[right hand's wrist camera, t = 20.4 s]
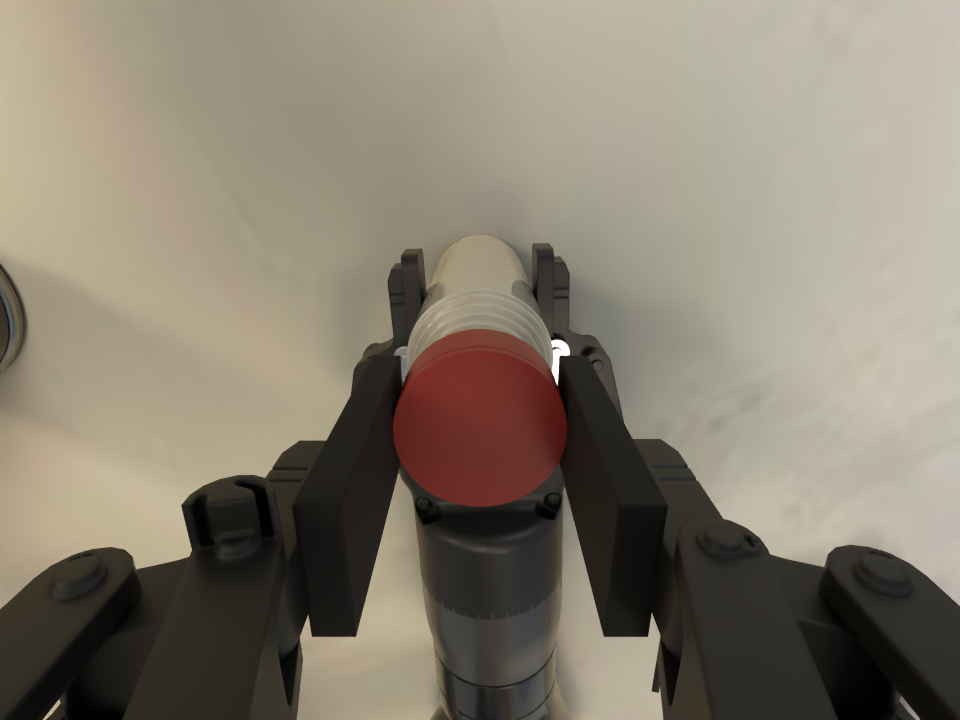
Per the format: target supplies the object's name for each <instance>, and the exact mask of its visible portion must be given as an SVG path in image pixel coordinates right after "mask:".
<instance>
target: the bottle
mask: <svg viewBox="0 0 960 720" xmlns="http://www.w3.org/2000/svg"><path fill="white" fill-rule="evenodd" d="M470 329H490V330H496V331H501V332H505V333H508V334H511V335H513V336H515V337H517V338H519V339H521V340H523V341H525V342H526V343H528V344H529V345H531V346H532V347H533V348H534V349H535V350H536V351H538V352H539V354H540V355H541V356H542V357H543V358H544V359H545V361H546V362H547V364H548V365H549V367H550V368H551V371H552V368H553V356H554V355H553V346H552V342H551V338H550V335H549V333H548V330H547V327H546V325H545V322H544V320H543V317H542V315H541V312H540V310H539V307H538V304H537V302H536V299H535V297H534V294H533V292H532V289H531V286H530V284H529V281H528V279H527V276H526V274H525V271H524V269H523V266H522V263H521V261H520V259H519V257H518V255H517V254H516V252H515V251H514V250H513V249H512V248H511V247H510V246H509V245H508V244H507V243H505V242H504V241H502V240H500V239H498V238H496V237H493V236H489V235H471V236H467V237H464V238H462V239H460V240H458V241H456V242H455V243H453V244H452V245H451V246H450V247H449V248H448V249H447V250H446V251H445V252H444V254H443V255H442V257H441V259H440V261H439V263H438V266H437V268H436V271H435V274H434V276H433V279H432V281H431V284H430V286H429V289H428V292H427V294H426V297H425V299H424V302H423V304H422V307H421V310H420V312H419V315H418V317H417V320H416V322H415V325H414V328H413V330H412V333H411V335H410V338H409V342H408V347H407V367H408V371H409V369H410V367H411V365H412V364H413V362H414V361H415V360H416V358H417V357H418V356H419V355H420V354H421V353H422V352H423V351H424V350H425V349H426V348H427V347H428V346H430V345H431V344H432V343H434V342H436V341H437V340H439V339H441V338H443V337H445V336H447V335H449V334H453V333H456V332H459V331H464V330H470Z"/></svg>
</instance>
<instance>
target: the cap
mask: <svg viewBox="0 0 960 720" xmlns="http://www.w3.org/2000/svg"><path fill="white" fill-rule="evenodd" d="M567 424H568V421H567V414H566V410H565V407H564V404H563V401H562V398H561V395H560V392H559V389H558V386H557V383H556V380H555V377H554V375H553V373H552V371H551V368H550V367H549V365H548V364H547V362H546V361H545V359H544V358H543V357H542V356H541V355H540V354H539V352H538V351H536V350H535V349H534V348H533V347H532V346H531V345H529V344H528V343H526V342H525V341H523V340H521V339H519V338H517V337H515V336H513V335H511V334H508V333H505V332H501V331H496V330H490V329H470V330H464V331H459V332H456V333H453V334H449V335H447V336H445V337H443V338H441V339H439V340H437V341H436V342H434V343H432V344H431V345H430V346H428V347H427V348H426V349H425V350H424V351H423V352H422V353H421V354H420V355H419V356H418V357H417V358H416V360H415V361H414V362H413V364H412V365H411V367H410V369H409V371H408V373H407V375H406V378H405V381H404V384H403V387H402V390H401V393H400V396H399V399H398V402H397V405H396V408H395V411H394V416H393V421H392V425H393V441H394V446H395V449H396V453H397V455H398V457H399V459H400V462H401V463H402V465H403V467H404V468H405V470H406V471H407V472H408V474H409V475H410V476H411V477H412V478H413V479H414V480H415V481H416V482H417V483H418V484H419V485H420V486H421V487H423V488H424V489H425V490H427V491H428V492H430V493H432V494H433V495H435V496H437V497H439V498H441V499H444V500H446V501H449V502H452V503H456V504H460V505H466V506H478V507H481V506H494V505H500V504H504V503H508V502H511V501H514V500H516V499H519V498H521V497H523V496H525V495H527V494H529V493H530V492H532V491H533V490H535V489H536V488H538V487H539V486H540V485H541V484H542V483H543V482H545V481H546V480H547V479H548V477H549V476H550V475H551V474H552V473H553V471H554V470H555V468H556V467H557V465H558V464H559V462H560V460H561V458H562V455H563V453H564V450H565V447H566V439H567Z"/></svg>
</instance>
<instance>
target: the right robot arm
mask: <svg viewBox="0 0 960 720" xmlns="http://www.w3.org/2000/svg"><path fill="white" fill-rule="evenodd" d="M558 389H559V392H560V395H561V398H562V401H563V404H564V407H565V410H566V414H567V421H568V424H567V439H566V447H565V450H564V453H563V455H562V458H561V460H560V462H559V464H560V468H561V472H562V476H563V480H564V484H565V487H566V491H567V495H568V499H569V503H570V507H571V511H572V515H573V518H574V522H575V526H576V530H577V534H578V538H579V542H580V545H581V549H582V553H583V557H584V561H585V565H586V569H587V573H588V576H589V580H590V584H591V588H592V592H593V596H594V600H595V604H596V607H597V611H598V615H599V619H600V623H601V627H602V631H603V635H604V637H648V632H649V626H650V619H651V613H652V614H653V616H654V619H655V622H656V624H657V627H658V630H659V632H660V635H661V637H660V643H659V649H658V655H657V661H656V667H655V673H654V679H653V686H652V692H658V693H659V688H660V690H661V700H662V709H663V719H664V720H916V719H915V718H914V717H913V716H912V715H911V714H910V713H909V712H908V711H907V709H906V708H905V707H904V706H903V704H902V703H901V702H900V699H901V697H903V698H904V700H905V701H906V702H907V703H908V705H909V706H910V707H911V708H912V710H913V711H914V712H915V713H916V715H917V716H918V717H919V718H920V720H960V606H959V605H958V604H957V603H956V602H954V601H953V600H952V599H951V598H950V597H949V596H948V595H947V594H946V593H945V592H944V591H942V590H941V589H940V588H939V587H938V586H937V585H936V584H935V583H934V582H933V581H932V580H930V579H929V578H928V577H927V576H926V575H925V574H923V573H922V572H920V571H919V570H918V569H916V568H915V567H914V566H912V565H911V564H910V563H908V562H906V561H904V560H902V559H900V558H898V557H896V556H894V555H892V554H890V553H887V552H884V551H881V550H878V549H874V548H870V547H865V546H855V545H847V546H841V547H836V548H835V549H834V550H832V551H831V552H830V553H829V554H828V556H827V560H826V563H825V566H824V567H820V566H816V565H811V564H806V563H802V562H797V561H793V560H788V559H784V558H780V557H777V556H773V555H770V553H769V551H768V549H767V548H766V546H765V545H764V543H763V542H762V540H761V539H760V538H759V537H758V536H756V535H755V534H754V533H752V532H751V531H750V530H748V529H747V528H745V527H743V526H741V525H739V524H737V523H734V522H732V521H729V520H725V519H723V518H722V516H721V515H720V513H719V512H718V510H717V509H716V507H715V506H714V504H713V503H712V501H711V500H710V498H709V497H708V495H707V494H706V492H705V491H704V489H703V488H702V486H701V485H700V483H699V482H698V481H696V477H695V476H694V474H693V473H692V471H691V470H690V469H688V466H687V464H686V463H685V461H684V460H683V458H682V457H681V455H680V454H679V452H678V451H677V450H675V449H674V448H672V447H671V446H670V445H668V444H667V443H665V442H664V441H662V440H661V439H632V437H631V435H630V434H629V432H628V430H627V428H626V426H625V424H624V423H623V421H622V419H621V417H620V415H619V413H618V411H617V410H616V408H615V406H614V404H613V402H612V400H611V398H610V397H609V395H608V393H607V391H606V389H605V387H604V385H603V384H602V382H601V380H600V378H599V376H598V374H597V372H596V371H595V369H594V367H593V365H592V363H591V361H590V359H589V358H588V356H587V355H559V369H558ZM401 390H402V372H401V355H373V356H372V357H371V359H370V361H369V363H368V365H367V367H366V368H365V370H364V372H363V374H362V376H361V378H360V380H359V381H358V383H357V385H356V387H355V389H354V391H353V393H352V394H351V396H350V398H349V400H348V402H347V404H346V406H345V407H344V409H343V411H342V413H341V415H340V417H339V419H338V420H337V422H336V424H335V426H334V428H333V430H332V432H331V433H330V435H329V437H328V439H327V441H299V442H297V443H296V444H294V445H293V446H292V447H290V448H289V449H287V450H286V451H284V452H283V453H282V454H281V456H280V457H279V459H278V460H277V462H276V463H275V465H274V466H273V469H272V470H271V471H270V472H269V474H268V475H267V477H266V478H263V477H259V476H255V475H237V476H232V477H228V478H223V479H219V480H217V481H214V482H212V483H209V484H207V485H204V486H203V487H201V488H200V489H198V490H197V491H195V492H194V493H192V494H191V495H189V497H188V498H187V499H186V500H185V501H184V503H183V504H182V505H181V507H182V511H183V515H184V519H185V523H186V527H187V531H188V535H189V539H190V543H191V547H192V552H191V554H190V557H188V558H184V559H181V560H177V561H173V562H169V563H164V564H159V565H155V566H150V567H146V568H141V569H137V570H136V567H135V564H134V560H133V557H132V556H131V555H130V554H129V553H128V552H127V551H125V550H123V549H118V548H112V547H108V548H99V549H91V550H88V551H84V552H82V553H78V554H75V555H72V556H70V557H68V558H66V559H64V560H62V561H60V562H58V563H56V564H54V565H52V566H50V567H49V568H48V569H46V570H45V571H44V572H42V573H41V574H39V575H38V576H37V577H35V578H34V579H33V580H32V581H31V582H30V583H29V584H28V585H26V586H25V587H24V588H23V589H22V590H21V591H20V592H19V593H18V594H17V595H16V596H15V597H13V598H12V599H11V600H10V601H9V602H8V603H7V604H6V605H5V606H4V607H3V608H2V609H0V720H43V718H44V717H45V716H46V715H47V713H48V712H49V711H50V710H51V708H52V707H53V706H54V705H55V703H56V702H57V701H58V700H60V702H61V704H60V705H59V706H58V707H57V709H56V710H55V711H54V712H53V714H52V715H51V716H50V717H48V718H47V719H46V720H297V710H298V701H299V691H300V682H301V672H302V662H303V656H302V649H301V643H300V635H301V632H302V629H303V627H304V624H305V621H306V619H307V616H308V614H309V620H310V627H311V633H312V637H356V634H357V630H358V626H359V622H360V619H361V615H362V611H363V607H364V603H365V599H366V595H367V591H368V588H369V584H370V580H371V576H372V572H373V568H374V564H375V560H376V557H377V553H378V549H379V545H380V541H381V537H382V533H383V530H384V526H385V522H386V518H387V514H388V510H389V506H390V502H391V499H392V495H393V491H394V487H395V483H396V479H397V475H398V471H399V468H400V464H401V462H400V459H399V457H398V455H397V453H396V449H395V446H394V441H393V425H392V421H393V416H394V411H395V408H396V405H397V402H398V399H399V396H400V393H401Z"/></svg>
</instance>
